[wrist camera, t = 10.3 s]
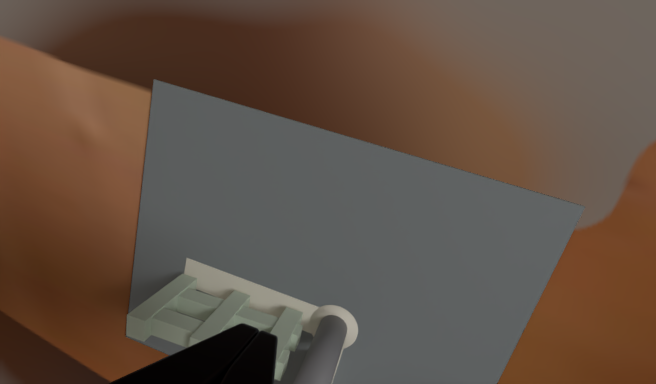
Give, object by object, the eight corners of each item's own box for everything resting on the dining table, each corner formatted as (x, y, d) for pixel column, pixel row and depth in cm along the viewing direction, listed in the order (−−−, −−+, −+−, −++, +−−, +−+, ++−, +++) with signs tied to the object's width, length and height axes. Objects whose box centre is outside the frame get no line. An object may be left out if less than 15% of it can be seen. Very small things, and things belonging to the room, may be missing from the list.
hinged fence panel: (308, 314, 20) (280, 368, 16) (304, 332, 21) (276, 389, 17) (180, 272, 22) (125, 314, 18) (179, 290, 22) (124, 334, 18)
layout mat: (583, 205, 17) (585, 207, 16) (451, 471, 22) (451, 475, 21) (156, 79, 20) (153, 79, 20) (128, 334, 25) (125, 336, 25)
